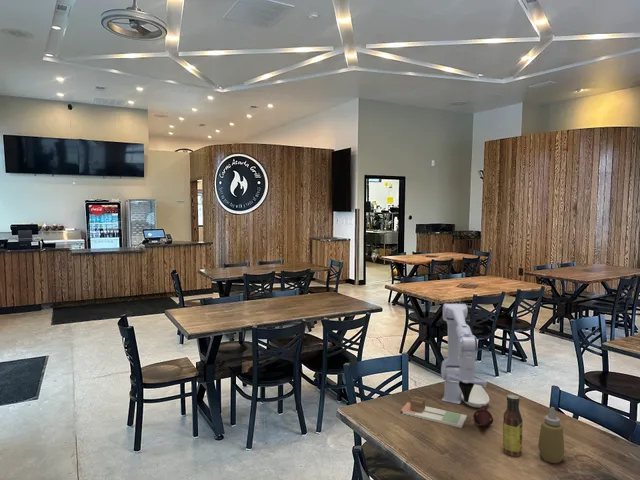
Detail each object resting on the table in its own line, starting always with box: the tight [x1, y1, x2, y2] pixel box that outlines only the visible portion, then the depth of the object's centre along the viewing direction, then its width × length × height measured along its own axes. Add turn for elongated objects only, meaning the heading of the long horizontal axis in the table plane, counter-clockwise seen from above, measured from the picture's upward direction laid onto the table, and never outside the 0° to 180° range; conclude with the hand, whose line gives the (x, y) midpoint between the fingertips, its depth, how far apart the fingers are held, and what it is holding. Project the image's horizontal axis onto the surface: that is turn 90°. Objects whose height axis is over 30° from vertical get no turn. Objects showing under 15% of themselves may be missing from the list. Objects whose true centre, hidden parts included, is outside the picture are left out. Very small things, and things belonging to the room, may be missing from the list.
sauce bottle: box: [502, 394, 524, 457], centre depth 151 cm, size 7×6×20 cm
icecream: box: [473, 405, 494, 428], centre depth 170 cm, size 7×7×15 cm
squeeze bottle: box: [537, 406, 566, 464], centre depth 147 cm, size 8×8×18 cm
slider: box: [409, 396, 426, 412], centre depth 182 cm, size 5×5×4 cm
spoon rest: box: [461, 384, 490, 408], centre depth 195 cm, size 24×12×7 cm, turn 164°
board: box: [400, 401, 467, 429], centre depth 179 cm, size 10×25×1 cm, turn 61°
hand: (466, 400), depth 169 cm, fingers closed
